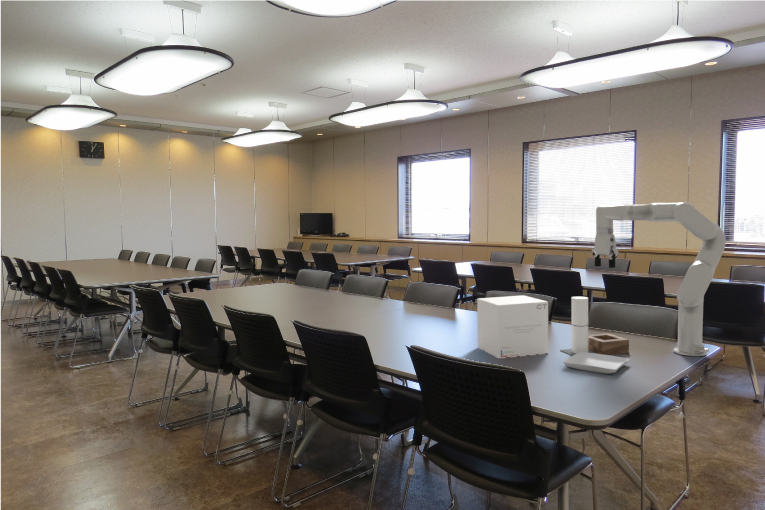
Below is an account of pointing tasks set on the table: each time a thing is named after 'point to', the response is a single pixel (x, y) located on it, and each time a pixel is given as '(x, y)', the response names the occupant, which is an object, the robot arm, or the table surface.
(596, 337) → the collar
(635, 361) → the table surface
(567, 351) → the mat
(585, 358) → the salad plate
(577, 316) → the cylindrical container
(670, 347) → the table surface
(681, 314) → the robot arm
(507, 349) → the cube
